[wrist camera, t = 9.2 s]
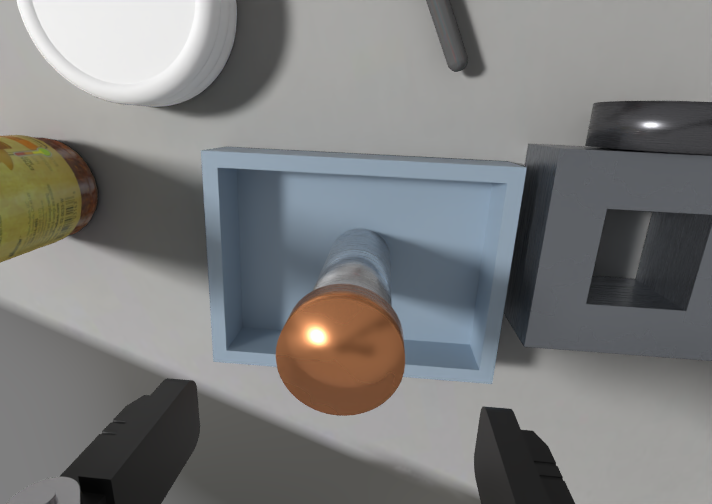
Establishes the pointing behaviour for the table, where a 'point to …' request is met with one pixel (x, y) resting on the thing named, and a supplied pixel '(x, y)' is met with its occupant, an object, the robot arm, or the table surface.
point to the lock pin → (345, 331)
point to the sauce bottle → (41, 193)
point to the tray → (373, 212)
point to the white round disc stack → (134, 45)
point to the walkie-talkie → (448, 34)
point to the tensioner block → (584, 228)
